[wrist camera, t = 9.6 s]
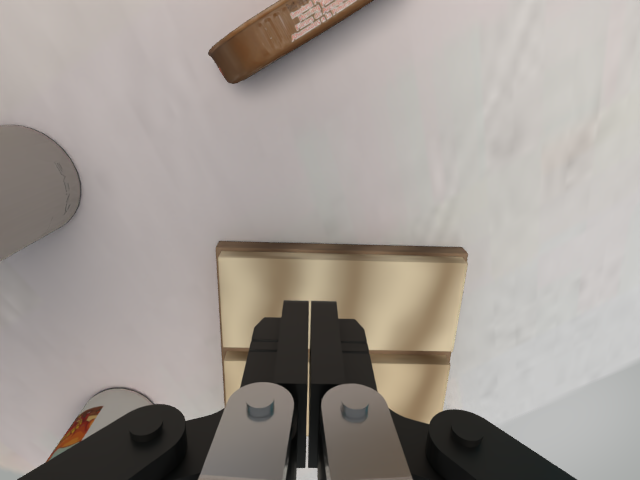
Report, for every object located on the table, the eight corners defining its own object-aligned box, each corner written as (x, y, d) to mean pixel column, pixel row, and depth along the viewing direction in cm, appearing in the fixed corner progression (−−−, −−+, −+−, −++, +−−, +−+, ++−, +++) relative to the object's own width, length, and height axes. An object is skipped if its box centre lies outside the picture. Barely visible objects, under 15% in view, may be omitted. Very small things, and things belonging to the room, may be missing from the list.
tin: (395, -59, 30) (425, -109, 22) (414, -15, 31) (448, -47, 23) (219, 53, 32) (189, 43, 24) (241, 90, 33) (219, 93, 25)
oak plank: (226, 337, 39) (223, 347, 38) (221, 250, 36) (218, 257, 35) (447, 342, 40) (452, 351, 39) (461, 256, 37) (467, 263, 36)
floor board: (228, 417, 45) (223, 439, 42) (219, 241, 38) (211, 253, 35) (433, 419, 45) (441, 442, 42) (462, 247, 38) (474, 260, 35)
